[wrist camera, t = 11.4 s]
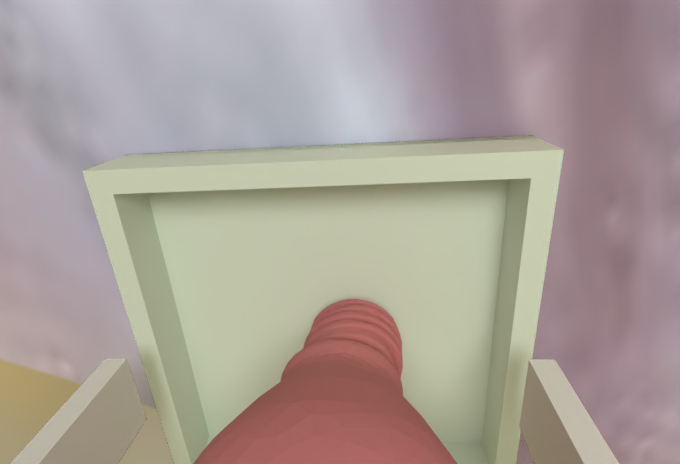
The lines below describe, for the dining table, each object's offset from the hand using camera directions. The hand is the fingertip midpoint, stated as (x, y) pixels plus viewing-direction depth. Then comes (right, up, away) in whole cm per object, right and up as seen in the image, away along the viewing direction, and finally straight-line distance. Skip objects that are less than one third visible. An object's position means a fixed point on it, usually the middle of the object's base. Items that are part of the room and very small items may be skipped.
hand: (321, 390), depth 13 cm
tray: (0, +2, +4) cm, 4 cm away
